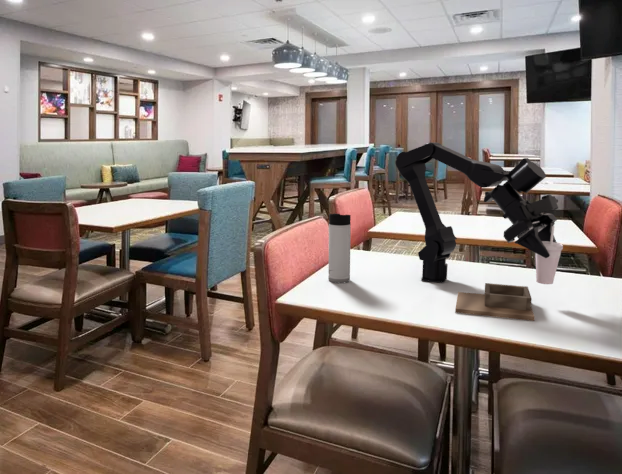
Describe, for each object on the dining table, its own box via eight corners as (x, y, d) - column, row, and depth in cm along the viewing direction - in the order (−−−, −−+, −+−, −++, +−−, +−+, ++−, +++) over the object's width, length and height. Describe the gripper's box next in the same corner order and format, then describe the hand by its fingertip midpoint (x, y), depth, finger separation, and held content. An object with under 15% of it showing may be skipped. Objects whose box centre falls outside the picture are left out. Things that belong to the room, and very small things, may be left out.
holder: (455, 312, 114) (456, 296, 113) (457, 295, 127) (458, 280, 126) (534, 320, 108) (535, 303, 108) (528, 302, 122) (529, 286, 121)
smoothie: (561, 287, 115) (568, 229, 112) (532, 284, 117) (538, 227, 114) (556, 279, 121) (562, 224, 118) (528, 277, 123) (533, 223, 120)
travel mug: (324, 282, 140) (325, 213, 136) (332, 276, 146) (333, 210, 142) (345, 284, 137) (346, 214, 134) (352, 278, 143) (353, 211, 140)
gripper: (521, 185, 111) (567, 240, 105) (552, 181, 124) (595, 230, 118) (485, 215, 118) (527, 268, 112) (519, 209, 131) (557, 256, 125)
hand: (553, 255), depth 117 cm, fingers closed on smoothie, 6 cm apart
